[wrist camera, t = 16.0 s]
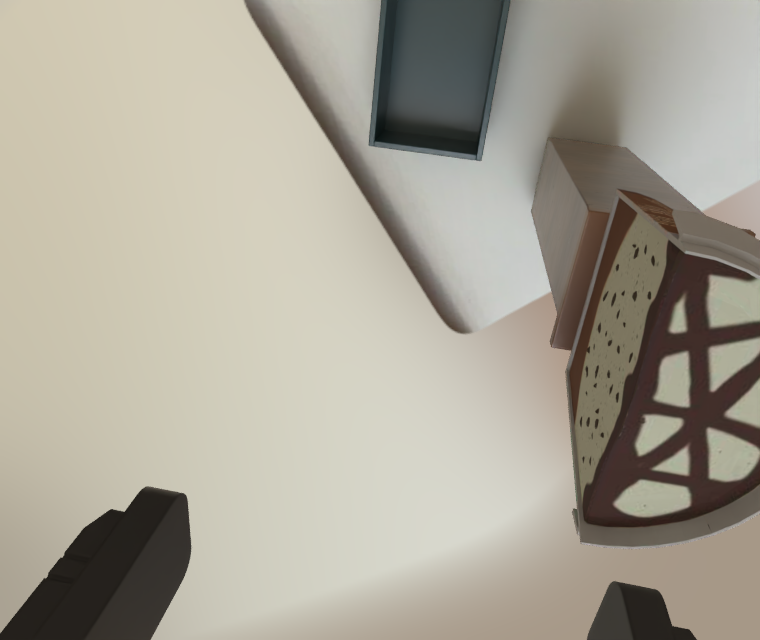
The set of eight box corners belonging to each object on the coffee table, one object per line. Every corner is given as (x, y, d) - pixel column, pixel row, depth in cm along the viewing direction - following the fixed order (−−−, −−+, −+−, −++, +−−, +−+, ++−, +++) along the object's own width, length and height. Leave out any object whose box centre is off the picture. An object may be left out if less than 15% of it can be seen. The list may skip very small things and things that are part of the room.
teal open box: (519, -67, 39) (524, -79, 34) (481, 146, 46) (481, 161, 41) (400, -78, 40) (389, -92, 35) (380, 133, 46) (368, 145, 42)
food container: (684, 419, 29) (758, 593, 20) (558, 396, 29) (577, 554, 21) (788, 172, 23) (957, 267, 14) (626, 152, 24) (692, 231, 15)
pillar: (627, 147, 44) (734, 238, 25) (605, 222, 47) (686, 354, 28) (547, 137, 45) (595, 219, 26) (530, 211, 47) (561, 334, 29)
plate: (750, 229, 25) (756, 234, 24) (693, 365, 28) (697, 371, 28) (586, 206, 26) (588, 210, 25) (549, 341, 29) (550, 347, 28)
